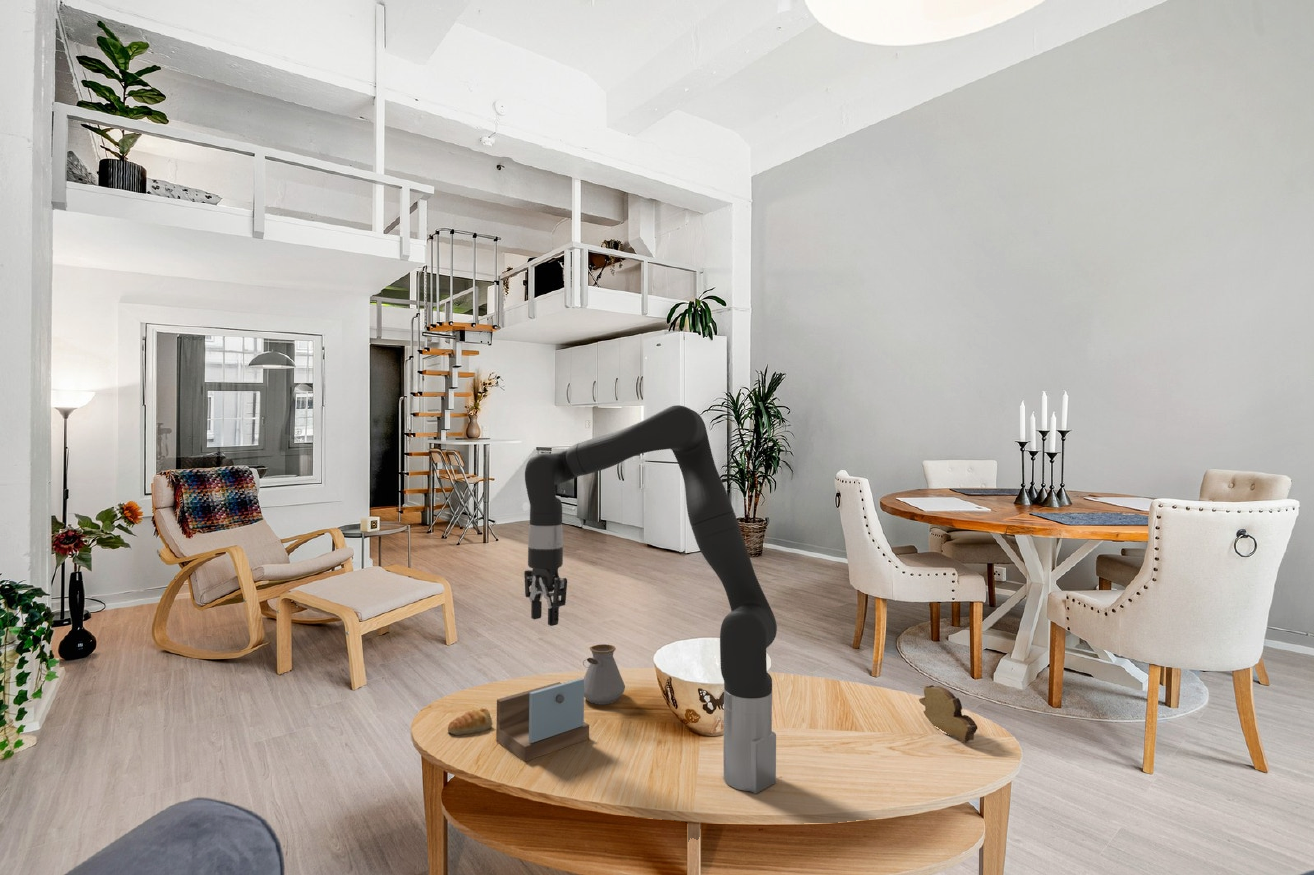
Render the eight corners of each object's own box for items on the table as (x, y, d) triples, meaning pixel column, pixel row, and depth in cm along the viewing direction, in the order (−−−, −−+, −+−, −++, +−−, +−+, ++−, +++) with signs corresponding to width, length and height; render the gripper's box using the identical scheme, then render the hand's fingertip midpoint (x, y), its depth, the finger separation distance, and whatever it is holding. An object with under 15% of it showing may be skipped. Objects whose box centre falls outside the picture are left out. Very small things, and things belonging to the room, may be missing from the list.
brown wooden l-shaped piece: (589, 738, 140) (589, 697, 141) (524, 761, 130) (525, 717, 130) (558, 720, 149) (559, 682, 150) (496, 741, 139) (496, 699, 139)
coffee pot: (586, 688, 170) (587, 632, 170) (629, 691, 168) (629, 634, 168) (562, 722, 148) (563, 657, 149) (610, 726, 147) (611, 660, 147)
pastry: (454, 740, 139) (454, 723, 139) (442, 730, 145) (443, 713, 145) (494, 729, 145) (495, 712, 146) (482, 719, 151) (482, 703, 151)
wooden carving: (984, 747, 138) (984, 700, 139) (968, 750, 137) (968, 703, 137) (928, 717, 154) (928, 675, 154) (912, 719, 152) (912, 677, 153)
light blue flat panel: (528, 741, 132) (529, 692, 132) (581, 723, 140) (581, 678, 140) (533, 744, 130) (534, 695, 130) (585, 726, 139) (586, 680, 139)
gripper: (578, 547, 137) (577, 625, 137) (542, 539, 148) (541, 612, 148) (548, 550, 132) (547, 632, 132) (513, 542, 143) (512, 618, 143)
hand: (544, 621), depth 140 cm, fingers open, 6 cm apart
